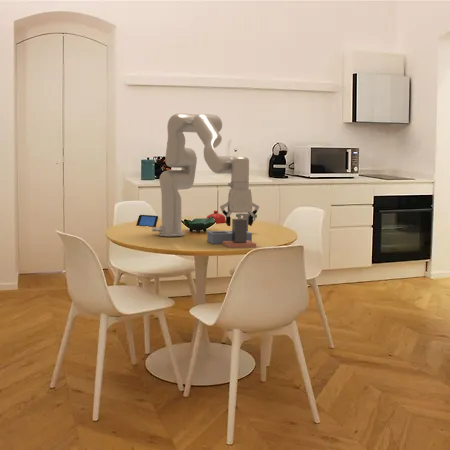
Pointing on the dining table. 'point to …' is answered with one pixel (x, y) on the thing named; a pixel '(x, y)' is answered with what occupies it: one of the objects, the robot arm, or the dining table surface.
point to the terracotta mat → (239, 244)
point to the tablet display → (147, 220)
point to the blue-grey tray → (223, 236)
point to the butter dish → (217, 217)
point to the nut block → (239, 230)
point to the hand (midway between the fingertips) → (239, 225)
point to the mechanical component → (245, 217)
